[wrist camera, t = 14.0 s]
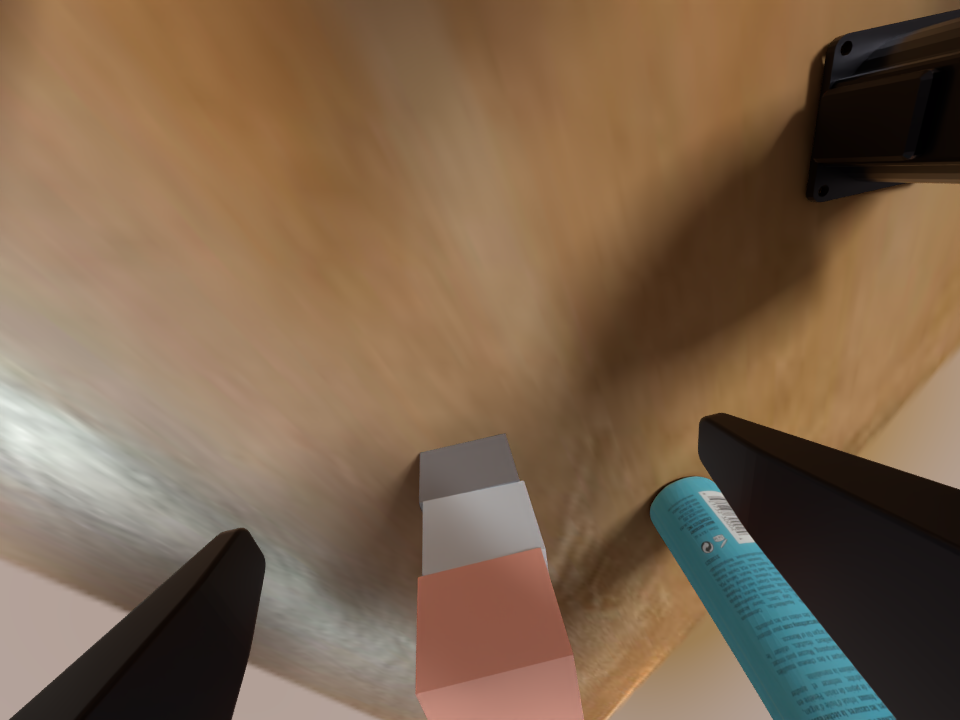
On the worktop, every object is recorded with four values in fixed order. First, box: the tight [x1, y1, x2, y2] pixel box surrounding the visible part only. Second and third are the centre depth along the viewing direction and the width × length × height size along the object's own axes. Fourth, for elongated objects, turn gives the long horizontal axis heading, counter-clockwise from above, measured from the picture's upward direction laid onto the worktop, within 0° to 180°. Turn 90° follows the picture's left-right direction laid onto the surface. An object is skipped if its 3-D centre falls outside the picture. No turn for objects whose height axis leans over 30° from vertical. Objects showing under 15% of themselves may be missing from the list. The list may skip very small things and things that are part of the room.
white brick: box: [422, 481, 548, 576], centre depth 19 cm, size 5×5×4 cm
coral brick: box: [416, 547, 584, 720], centre depth 15 cm, size 5×5×4 cm
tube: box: [650, 476, 896, 720], centre depth 19 cm, size 7×5×19 cm, turn 98°
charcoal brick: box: [419, 434, 520, 513], centre depth 23 cm, size 5×5×4 cm
